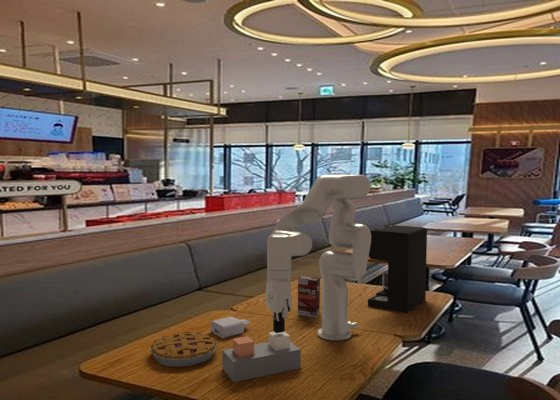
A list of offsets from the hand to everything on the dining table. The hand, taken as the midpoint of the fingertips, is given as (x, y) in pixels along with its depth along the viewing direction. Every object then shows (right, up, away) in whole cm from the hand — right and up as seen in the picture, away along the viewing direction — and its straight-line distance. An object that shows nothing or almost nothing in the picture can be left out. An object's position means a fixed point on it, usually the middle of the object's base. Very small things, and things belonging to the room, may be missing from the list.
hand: (278, 331), depth 144 cm
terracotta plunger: (-11, -7, -5) cm, 14 cm away
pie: (-32, -11, +9) cm, 34 cm away
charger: (-17, -9, +32) cm, 37 cm away
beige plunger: (0, -7, +1) cm, 7 cm away
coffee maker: (+56, -7, +70) cm, 90 cm away
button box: (-5, -11, -2) cm, 12 cm away
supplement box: (+13, -8, +51) cm, 53 cm away
